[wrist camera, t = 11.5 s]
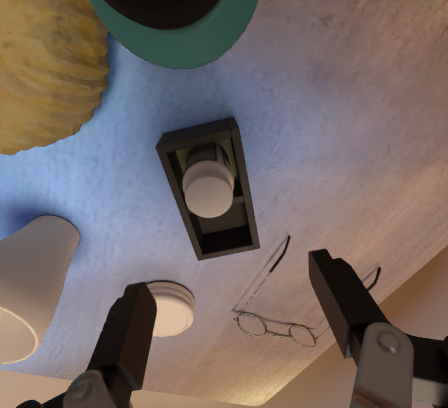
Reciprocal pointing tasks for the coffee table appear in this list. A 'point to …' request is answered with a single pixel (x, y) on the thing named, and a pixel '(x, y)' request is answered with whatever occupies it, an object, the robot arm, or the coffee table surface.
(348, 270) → the robot arm
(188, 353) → the coffee table surface
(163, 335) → the white jar lid
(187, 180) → the pill bottle
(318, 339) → the eyeglasses
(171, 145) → the holder
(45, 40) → the yellow lumpy rounded block
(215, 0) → the beverage bottle
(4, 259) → the cup
